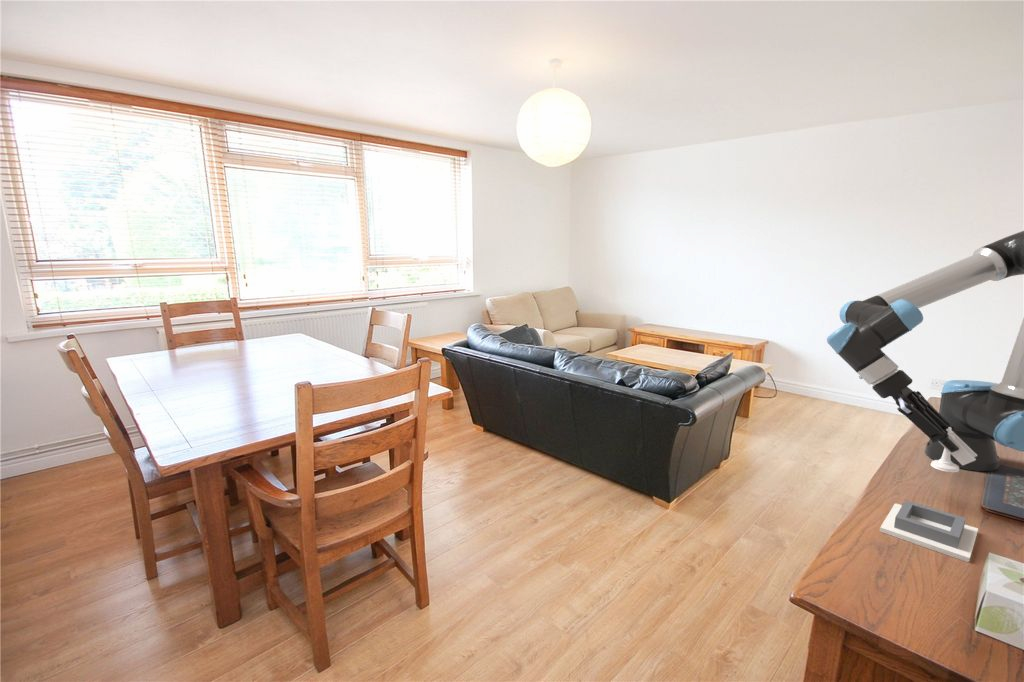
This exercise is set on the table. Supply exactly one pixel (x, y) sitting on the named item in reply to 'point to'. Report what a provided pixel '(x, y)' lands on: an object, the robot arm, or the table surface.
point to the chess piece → (945, 460)
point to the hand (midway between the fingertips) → (969, 460)
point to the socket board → (931, 529)
